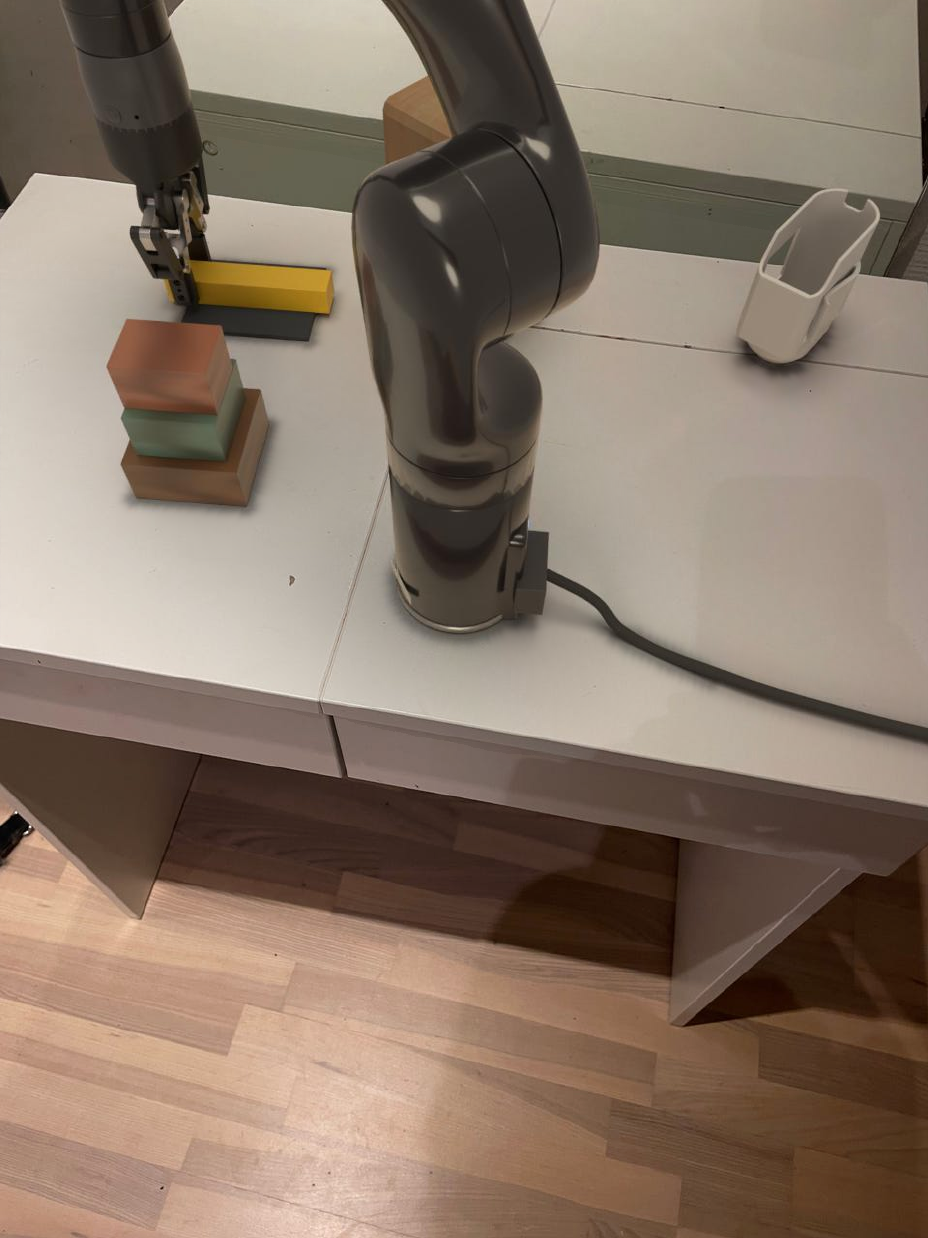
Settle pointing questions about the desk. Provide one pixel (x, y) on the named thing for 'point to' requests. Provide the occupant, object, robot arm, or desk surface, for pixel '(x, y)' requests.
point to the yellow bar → (262, 286)
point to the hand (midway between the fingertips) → (194, 285)
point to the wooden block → (413, 120)
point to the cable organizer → (807, 276)
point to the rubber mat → (254, 317)
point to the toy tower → (186, 414)
